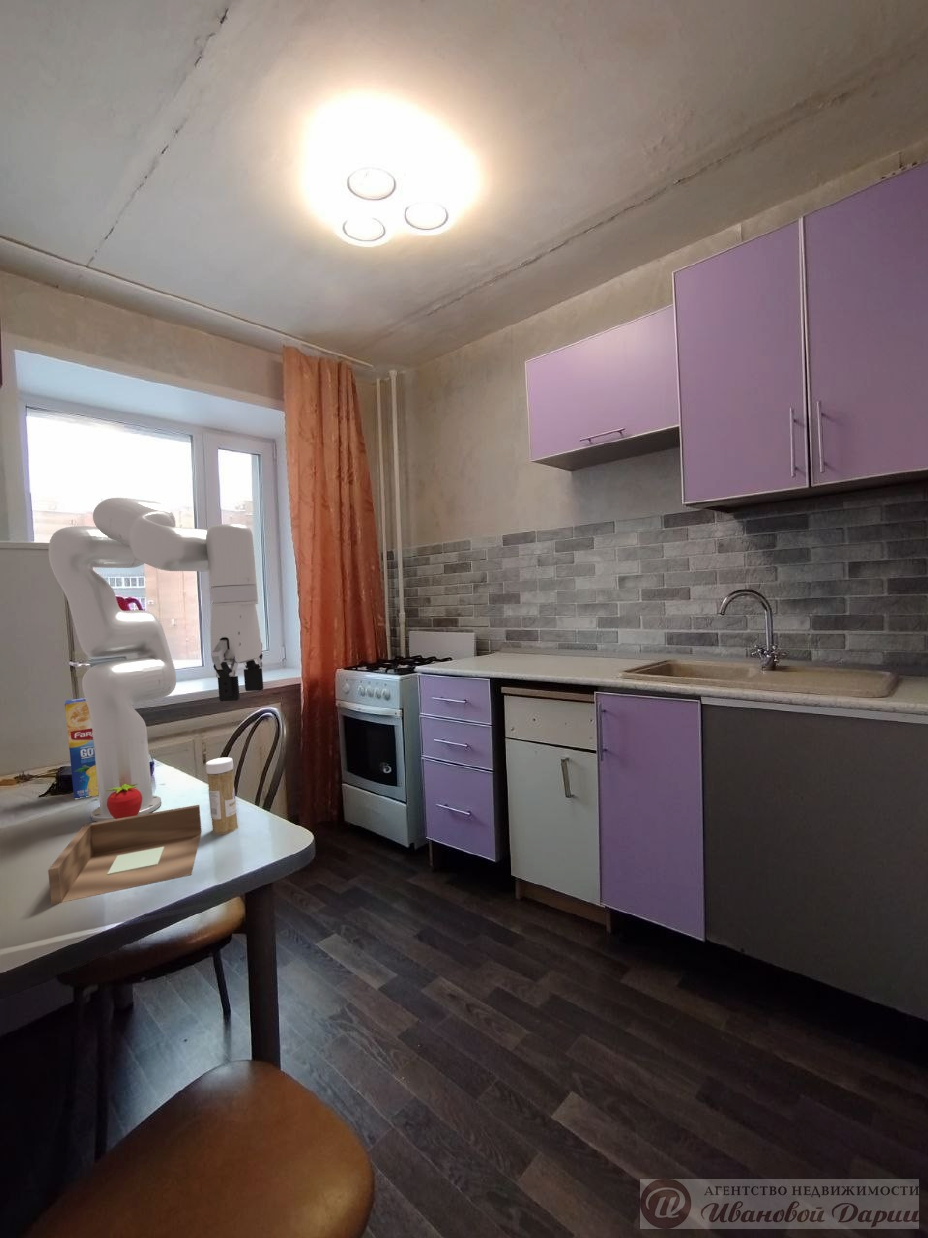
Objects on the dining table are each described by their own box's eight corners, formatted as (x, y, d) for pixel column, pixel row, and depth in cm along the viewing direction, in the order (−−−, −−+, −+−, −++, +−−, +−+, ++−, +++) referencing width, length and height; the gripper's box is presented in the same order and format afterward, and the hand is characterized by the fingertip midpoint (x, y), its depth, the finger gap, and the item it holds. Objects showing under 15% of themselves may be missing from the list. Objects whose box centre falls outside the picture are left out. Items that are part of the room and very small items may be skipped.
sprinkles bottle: (241, 832, 103) (234, 760, 103) (214, 840, 101) (207, 765, 100) (235, 825, 107) (229, 755, 106) (209, 832, 105) (203, 760, 104)
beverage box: (129, 788, 134) (121, 696, 133) (73, 800, 128) (64, 704, 127) (128, 781, 140) (120, 693, 139) (74, 792, 134) (65, 700, 133)
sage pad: (117, 856, 95) (117, 855, 95) (164, 847, 97) (164, 846, 97) (107, 875, 88) (107, 873, 88) (157, 865, 91) (157, 863, 91)
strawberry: (110, 839, 104) (105, 785, 104) (108, 827, 110) (103, 776, 110) (147, 830, 108) (142, 778, 107) (142, 818, 114) (138, 769, 113)
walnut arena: (87, 856, 97) (84, 824, 97) (201, 834, 103) (199, 804, 103) (51, 908, 80) (48, 869, 80) (191, 878, 87) (188, 842, 86)
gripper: (235, 598, 107) (243, 688, 107) (186, 599, 89) (195, 706, 90) (275, 595, 106) (282, 686, 107) (233, 596, 89) (241, 703, 90)
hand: (242, 695), depth 99 cm, fingers open, 9 cm apart
